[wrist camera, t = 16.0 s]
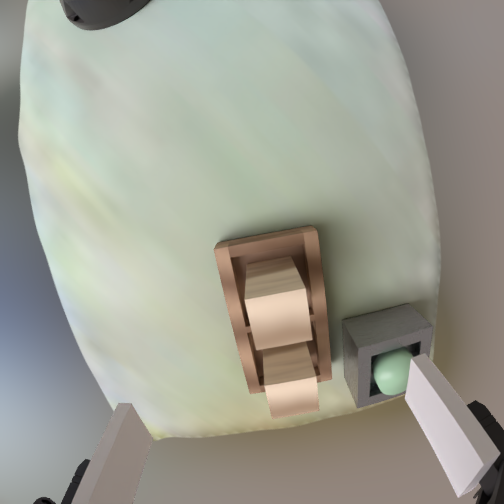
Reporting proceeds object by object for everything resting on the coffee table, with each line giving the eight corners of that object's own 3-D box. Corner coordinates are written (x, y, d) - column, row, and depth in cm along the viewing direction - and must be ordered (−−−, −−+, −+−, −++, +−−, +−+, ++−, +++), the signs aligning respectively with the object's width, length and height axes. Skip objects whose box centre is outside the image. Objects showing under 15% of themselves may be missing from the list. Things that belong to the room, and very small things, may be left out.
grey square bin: (341, 320, 36) (358, 348, 30) (408, 303, 36) (433, 326, 29) (344, 377, 39) (357, 408, 32) (404, 360, 38) (423, 386, 32)
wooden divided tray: (217, 242, 34) (213, 249, 31) (311, 225, 33) (317, 230, 30) (250, 379, 39) (250, 393, 36) (327, 365, 38) (331, 379, 35)
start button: (371, 352, 31) (380, 366, 28) (411, 340, 31) (422, 352, 28) (370, 385, 33) (377, 400, 30) (408, 374, 32) (417, 387, 30)
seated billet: (261, 334, 36) (264, 385, 26) (301, 327, 35) (316, 376, 26) (268, 365, 37) (272, 418, 27) (305, 358, 36) (319, 410, 27)
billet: (247, 264, 33) (244, 299, 24) (290, 255, 33) (305, 288, 23) (255, 303, 34) (256, 350, 25) (297, 295, 34) (312, 339, 24)
